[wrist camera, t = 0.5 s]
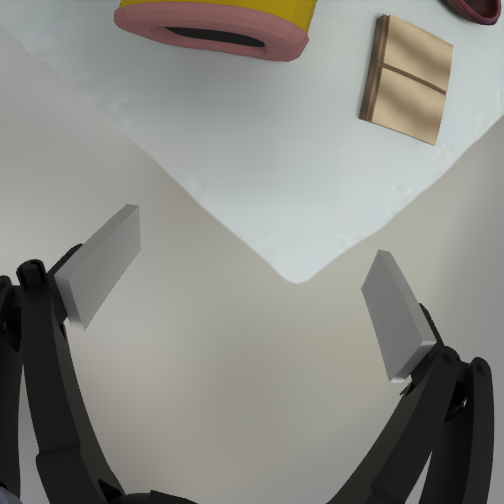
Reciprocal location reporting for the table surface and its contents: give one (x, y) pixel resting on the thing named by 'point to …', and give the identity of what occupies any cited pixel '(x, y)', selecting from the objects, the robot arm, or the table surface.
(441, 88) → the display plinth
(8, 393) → the robot arm
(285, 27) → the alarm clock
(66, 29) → the table surface
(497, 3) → the bowl
